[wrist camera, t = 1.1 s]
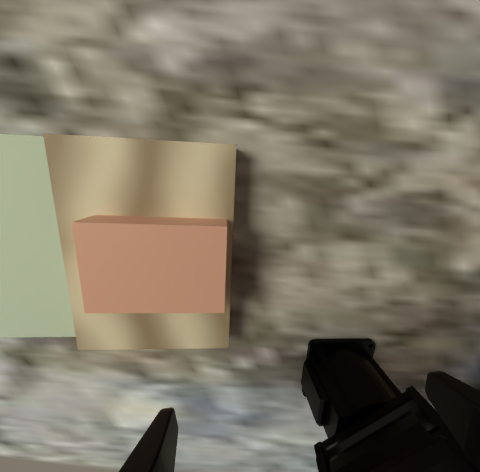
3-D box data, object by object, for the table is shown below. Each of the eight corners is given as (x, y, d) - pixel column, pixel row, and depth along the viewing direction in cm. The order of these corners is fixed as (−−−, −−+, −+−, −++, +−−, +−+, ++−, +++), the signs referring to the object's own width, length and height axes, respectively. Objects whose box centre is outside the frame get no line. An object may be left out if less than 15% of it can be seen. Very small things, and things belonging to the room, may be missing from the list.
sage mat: (56, 138, 16) (52, 137, 16) (85, 333, 20) (83, 336, 20) (-103, 128, 15) (-112, 127, 15) (-39, 334, 19) (-44, 337, 19)
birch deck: (234, 148, 17) (236, 144, 15) (228, 332, 21) (228, 348, 19) (64, 138, 16) (42, 133, 14) (91, 333, 20) (78, 350, 18)
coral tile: (226, 219, 16) (227, 226, 14) (224, 294, 18) (224, 313, 15) (94, 214, 16) (71, 222, 13) (104, 293, 17) (84, 313, 15)
